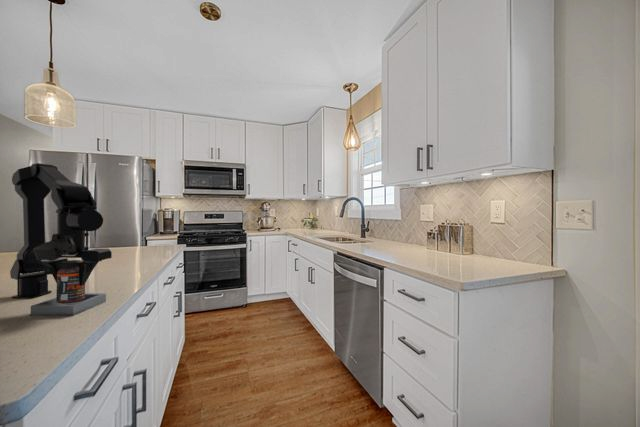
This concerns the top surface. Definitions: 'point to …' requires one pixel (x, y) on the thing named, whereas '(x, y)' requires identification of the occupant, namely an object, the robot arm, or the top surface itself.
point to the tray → (67, 306)
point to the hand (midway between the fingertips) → (71, 285)
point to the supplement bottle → (69, 283)
